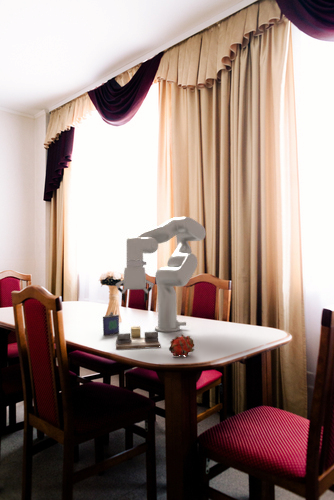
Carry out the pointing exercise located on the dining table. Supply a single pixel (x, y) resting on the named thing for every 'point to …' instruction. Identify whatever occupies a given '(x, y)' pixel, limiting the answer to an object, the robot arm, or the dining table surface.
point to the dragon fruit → (181, 345)
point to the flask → (110, 324)
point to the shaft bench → (137, 341)
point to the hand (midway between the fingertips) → (134, 302)
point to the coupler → (135, 332)
